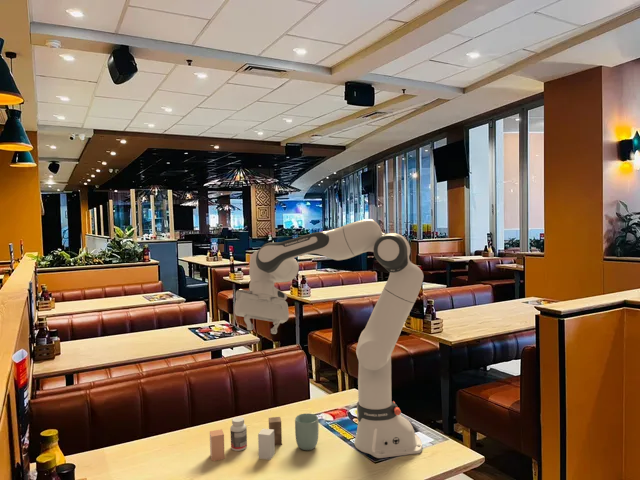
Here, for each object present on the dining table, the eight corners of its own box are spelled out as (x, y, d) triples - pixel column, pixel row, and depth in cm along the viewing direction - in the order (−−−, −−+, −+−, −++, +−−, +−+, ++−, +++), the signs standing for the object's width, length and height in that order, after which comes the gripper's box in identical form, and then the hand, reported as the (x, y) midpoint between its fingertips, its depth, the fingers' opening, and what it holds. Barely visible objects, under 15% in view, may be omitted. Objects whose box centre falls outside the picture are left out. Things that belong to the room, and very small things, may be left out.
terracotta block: (222, 453, 156) (222, 429, 155) (224, 458, 152) (223, 434, 152) (210, 455, 154) (209, 431, 154) (212, 461, 151) (211, 436, 150)
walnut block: (280, 439, 165) (280, 416, 164) (281, 444, 161) (281, 421, 160) (269, 440, 164) (268, 417, 163) (270, 445, 160) (269, 422, 159)
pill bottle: (230, 444, 161) (229, 416, 161) (246, 442, 162) (245, 414, 162) (231, 452, 156) (230, 423, 155) (247, 450, 157) (247, 421, 157)
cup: (316, 454, 154) (315, 424, 153) (293, 452, 155) (292, 422, 155) (320, 442, 161) (320, 414, 161) (298, 441, 163) (298, 412, 162)
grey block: (274, 453, 155) (274, 429, 154) (270, 459, 151) (269, 435, 150) (263, 452, 156) (262, 428, 155) (258, 458, 152) (258, 433, 151)
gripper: (240, 285, 159) (239, 324, 152) (290, 295, 170) (291, 332, 164) (231, 291, 163) (230, 330, 157) (280, 300, 175) (281, 337, 168)
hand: (262, 331), depth 160 cm, fingers open, 8 cm apart
